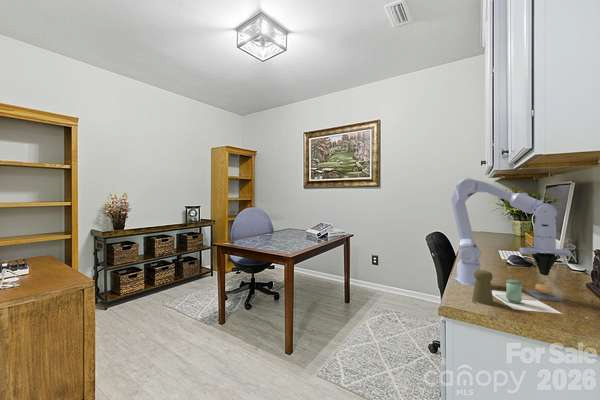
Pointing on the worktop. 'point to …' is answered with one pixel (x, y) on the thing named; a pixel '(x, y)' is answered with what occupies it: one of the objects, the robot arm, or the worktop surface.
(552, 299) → the button pad
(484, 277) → the olive brown cylinder
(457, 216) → the robot arm
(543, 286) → the button
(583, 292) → the worktop surface
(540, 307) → the picture card
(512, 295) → the green cylinder
